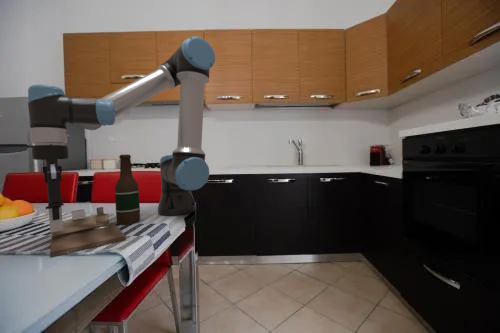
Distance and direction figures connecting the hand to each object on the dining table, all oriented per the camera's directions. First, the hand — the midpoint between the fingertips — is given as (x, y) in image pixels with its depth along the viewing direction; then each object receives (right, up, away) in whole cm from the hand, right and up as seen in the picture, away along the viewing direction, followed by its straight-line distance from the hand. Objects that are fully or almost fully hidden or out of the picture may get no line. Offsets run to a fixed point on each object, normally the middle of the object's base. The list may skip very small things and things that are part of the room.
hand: (56, 230), depth 65 cm
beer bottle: (+10, -2, +19) cm, 22 cm away
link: (+3, -1, +6) cm, 7 cm away
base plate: (+7, -3, +3) cm, 8 cm away
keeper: (+4, -2, +8) cm, 10 cm away
